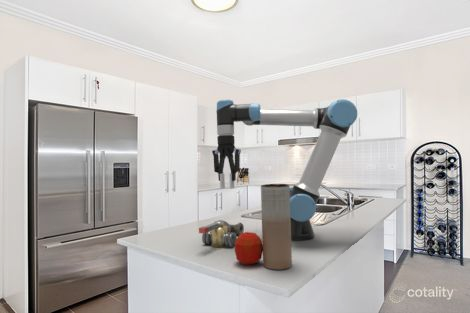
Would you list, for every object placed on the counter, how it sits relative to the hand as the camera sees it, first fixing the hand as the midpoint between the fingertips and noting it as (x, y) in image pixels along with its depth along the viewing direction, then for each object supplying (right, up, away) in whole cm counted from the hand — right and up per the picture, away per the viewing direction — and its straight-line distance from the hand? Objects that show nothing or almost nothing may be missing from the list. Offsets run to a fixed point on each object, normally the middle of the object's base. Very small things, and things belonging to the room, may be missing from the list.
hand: (227, 188), depth 129 cm
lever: (-6, -16, -7) cm, 19 cm away
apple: (+8, -24, -25) cm, 36 cm away
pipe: (-1, -25, +14) cm, 29 cm away
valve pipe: (-3, -25, -2) cm, 25 cm away
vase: (+18, -24, -28) cm, 41 cm away
